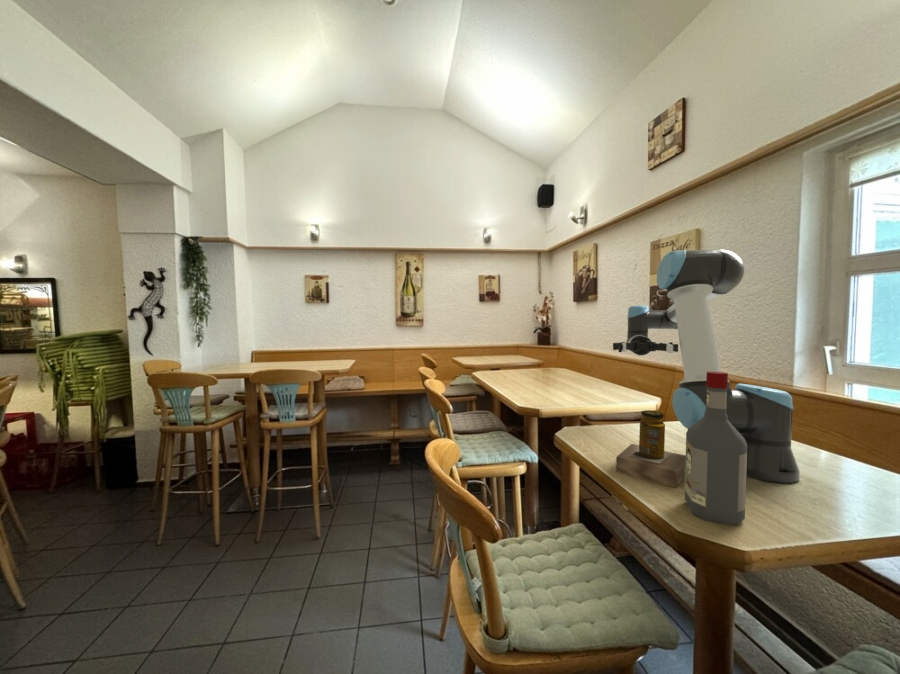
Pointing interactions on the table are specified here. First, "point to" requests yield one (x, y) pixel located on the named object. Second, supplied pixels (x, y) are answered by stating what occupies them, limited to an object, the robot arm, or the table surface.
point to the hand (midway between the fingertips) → (647, 348)
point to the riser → (652, 467)
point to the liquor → (716, 460)
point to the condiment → (651, 437)
